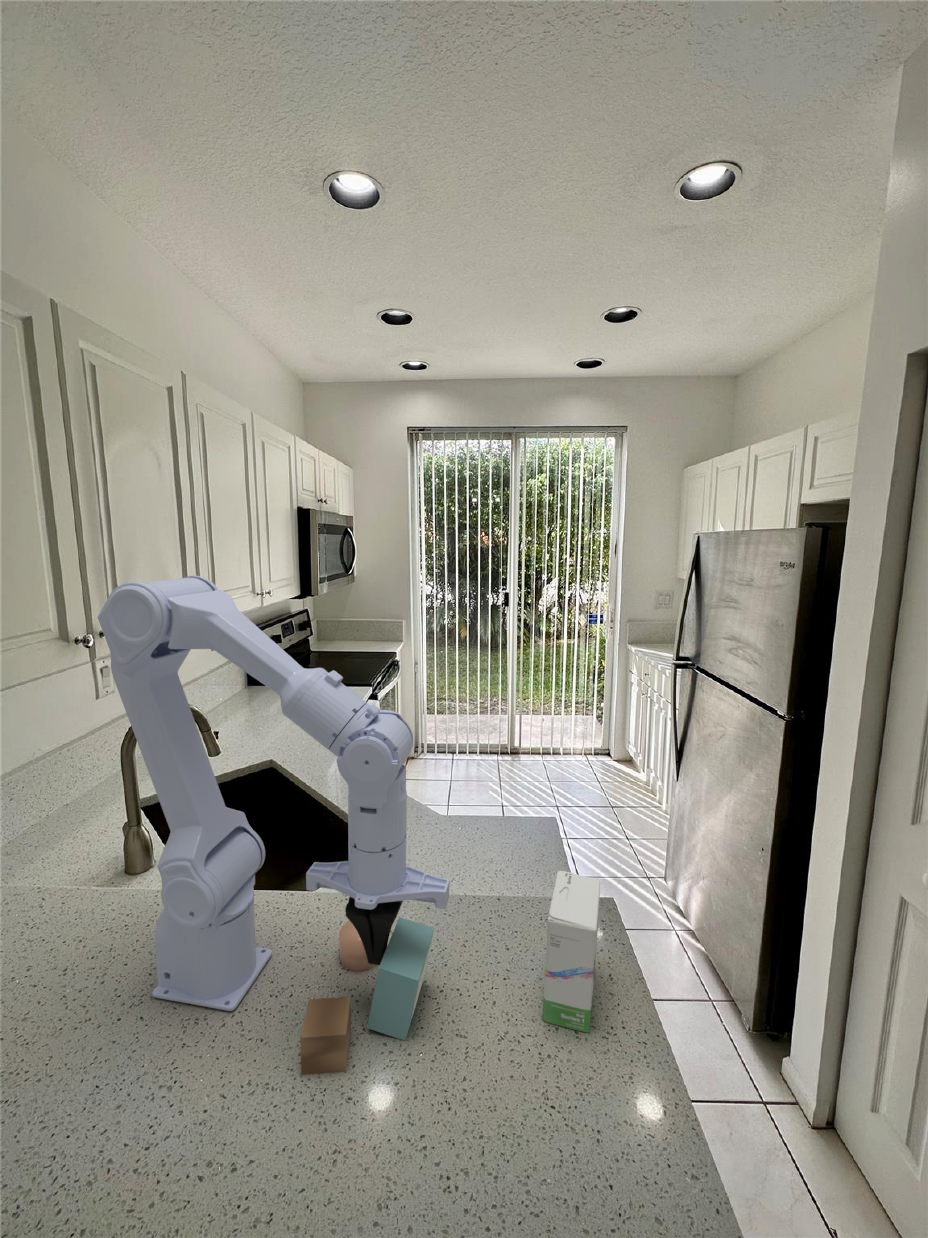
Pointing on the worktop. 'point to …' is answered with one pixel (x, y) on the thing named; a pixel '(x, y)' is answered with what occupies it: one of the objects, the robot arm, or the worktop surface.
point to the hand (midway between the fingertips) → (377, 957)
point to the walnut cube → (326, 1036)
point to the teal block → (400, 978)
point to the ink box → (571, 951)
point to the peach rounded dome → (352, 949)
